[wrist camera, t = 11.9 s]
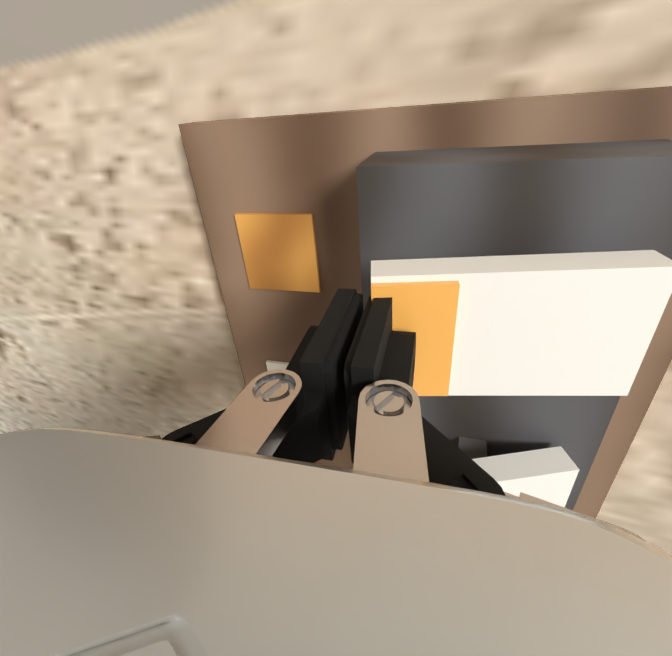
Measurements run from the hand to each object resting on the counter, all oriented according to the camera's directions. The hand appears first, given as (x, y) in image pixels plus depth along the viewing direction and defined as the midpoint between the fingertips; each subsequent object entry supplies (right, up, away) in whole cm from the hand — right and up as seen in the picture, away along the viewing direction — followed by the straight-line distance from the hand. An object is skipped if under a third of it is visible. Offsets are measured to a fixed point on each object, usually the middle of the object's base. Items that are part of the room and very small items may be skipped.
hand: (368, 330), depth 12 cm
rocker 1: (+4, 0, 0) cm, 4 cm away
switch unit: (+4, -4, +11) cm, 12 cm away
